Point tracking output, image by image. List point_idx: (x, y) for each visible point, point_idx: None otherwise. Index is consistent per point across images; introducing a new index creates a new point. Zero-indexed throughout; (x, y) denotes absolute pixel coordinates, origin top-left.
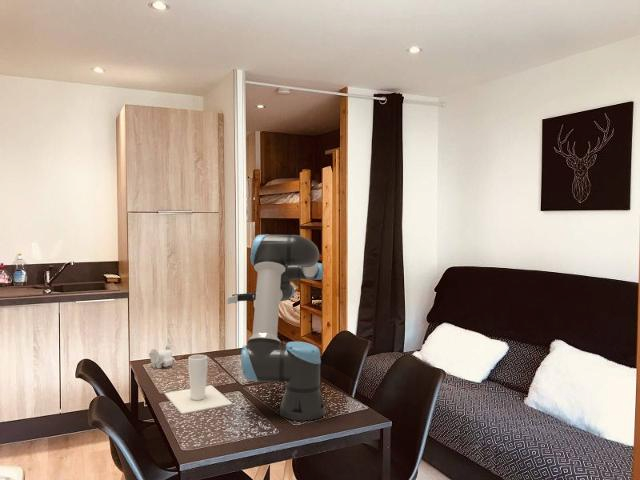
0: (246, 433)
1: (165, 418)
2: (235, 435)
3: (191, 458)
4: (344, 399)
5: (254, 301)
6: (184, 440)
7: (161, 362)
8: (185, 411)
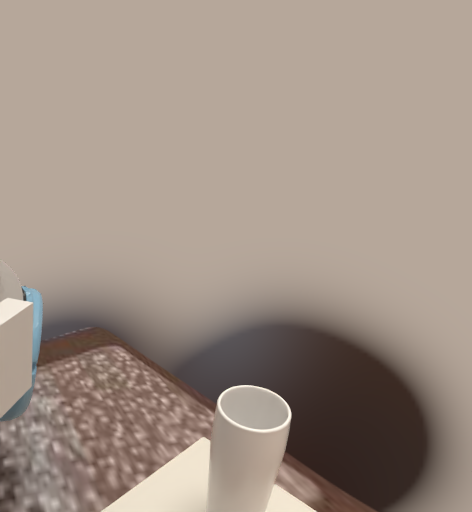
0: None
1: None
2: None
3: (91, 332)
4: None
5: (22, 313)
6: (129, 363)
7: None
8: (200, 445)
